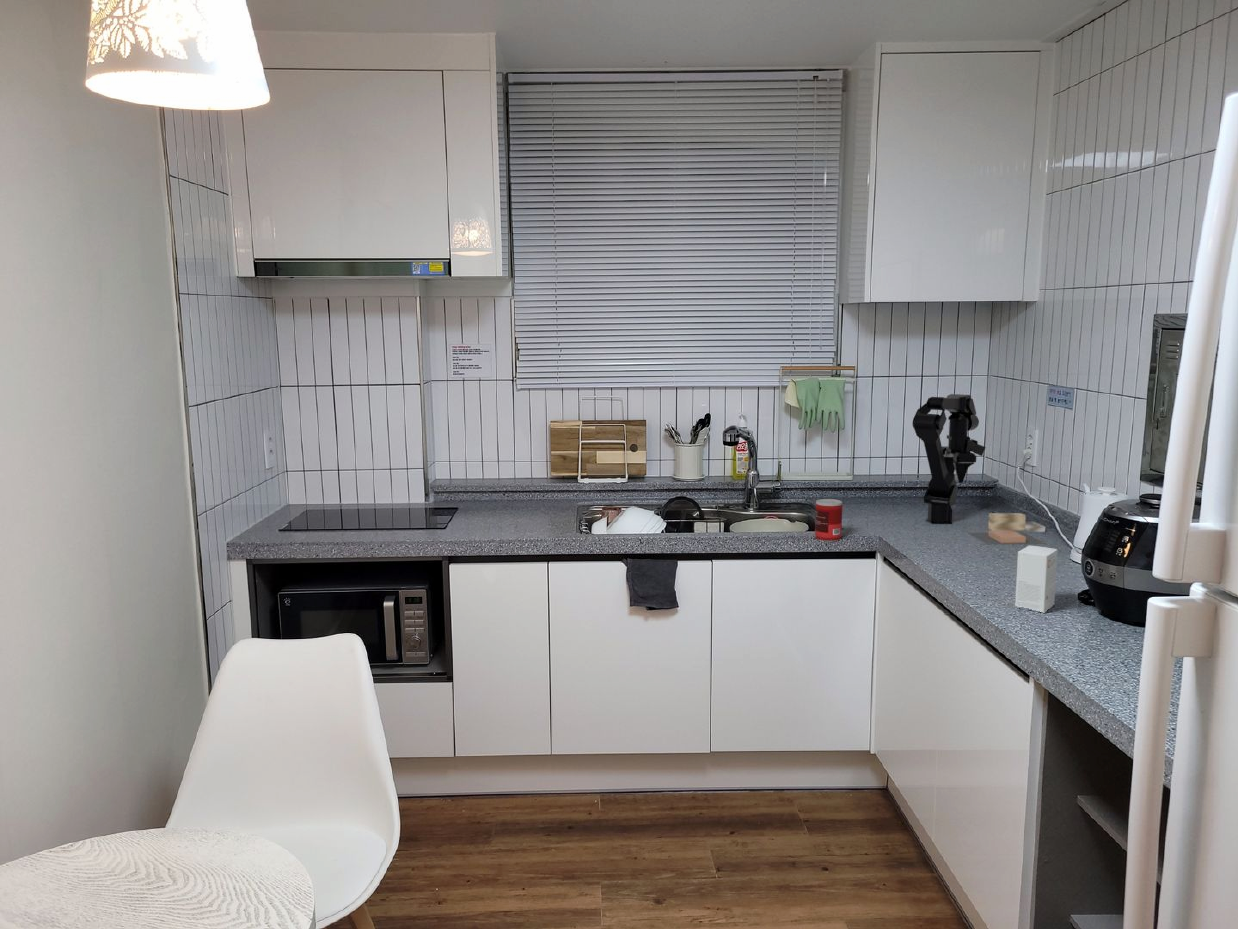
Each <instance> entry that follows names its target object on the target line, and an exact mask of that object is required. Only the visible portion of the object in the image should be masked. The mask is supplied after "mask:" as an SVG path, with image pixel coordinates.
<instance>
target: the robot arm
mask: <svg viewBox="0 0 1238 929" xmlns="http://www.w3.org/2000/svg"><path fill="white" fill-rule="evenodd" d="M931 411H941V414H937V413H936V414H934V413H930V412H931ZM945 411H948V412H949V414H950V415H949V416H948V418H947V415H946V412H945ZM947 419H948V420H949V423H948V424H949V426H948V435H947V434H946V439H948V445H947V446H943V445H942V442H941V434H942V432H943V430H944V426H945V424H946V422H947ZM979 424H980V420H979V418H978V416H977V410H976V406H975V402H974V399H973V398H972V396H971V394H961V393H960V394H959V393H956V394H955V393H954V394H953V393H950V394H949V395H947V396H946V397H942V396H931V397H928V399H927V401H926V403H924V404H923V405H922V406H920V407H919V408H918V409H917V411H916V413H915V414H914V417H913V419H912V428H913V430H914V433H915V435H916V436H917V438H919V439H920V440H921V441H922V442H923V445H924V448H925V449H924V450H925V452H926V453H925V454H926V459H927V463H928V467H929V470H930V472H929V473H930V476H931V479H930V480H929V482H928V485H927V488H926V491H925V493H924V494H923V495H924V496H923V503H924V504H927V505H928V506H927V507H928V508H927V518H925V521H926V522H927V523H930V524H931V525H953V511H954V510H953V508H952V506H954V505H956V504H957V503H956V501H957V498H958V492H959V488H958V487H959V486H958V485H957V481H958V483H959V484H962V483H963V482H964V480H965V478H966V475H967V473H968V469H969V467H971V466H973V465H974V464H975V463H977V455H979V456H981V457H983V455H984V453H985V450H986V446H984V445H982V444H979V441H978V440H975V439H974V438H973V439H972V438H971V437H970V436H968V432H970V431H973V430H976V428H978V426H979ZM955 474H956V476H955ZM956 479H957V481H956Z"/></svg>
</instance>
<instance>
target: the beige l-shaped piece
mask: <svg viewBox="0 0 1238 929" xmlns="http://www.w3.org/2000/svg"><path fill="white" fill-rule="evenodd" d="M1026 516H1027V515H1026V514H1024V513H1022V512H1016V513H1015V512H1014V513H1013V512H1012V513H1011V512H1006V513H1004V512H1001V513H997V512H996V513H995V512H993V513H992V512H991V513H988V525H987V527H988V528H987V529H989V530H1013V531H1026V532H1028V533H1039V532H1040V533H1043V532H1046V526H1044V525H1042V524H1039V523H1038V522H1035V521H1026V520H1027V519H1026V518H1027V517H1026Z"/></svg>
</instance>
